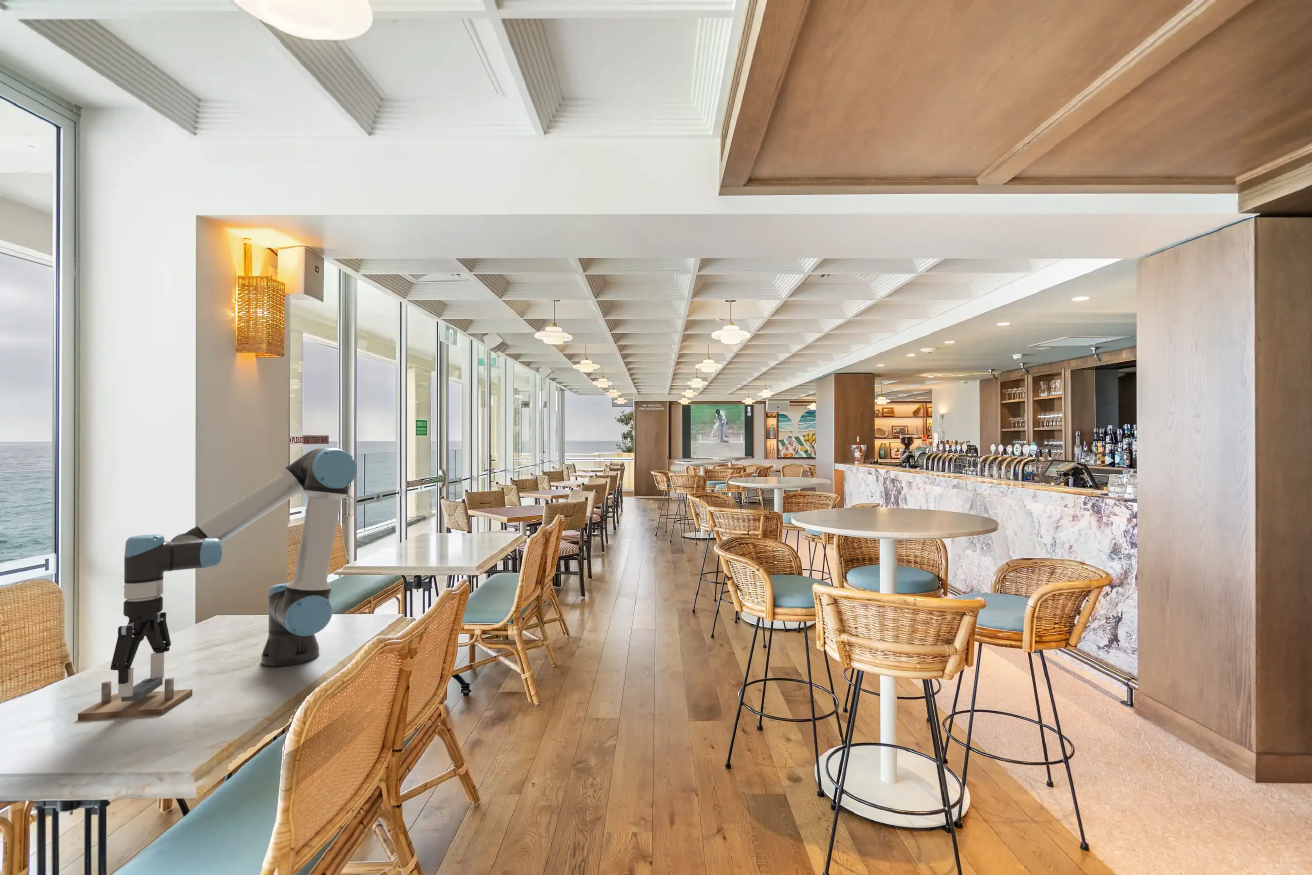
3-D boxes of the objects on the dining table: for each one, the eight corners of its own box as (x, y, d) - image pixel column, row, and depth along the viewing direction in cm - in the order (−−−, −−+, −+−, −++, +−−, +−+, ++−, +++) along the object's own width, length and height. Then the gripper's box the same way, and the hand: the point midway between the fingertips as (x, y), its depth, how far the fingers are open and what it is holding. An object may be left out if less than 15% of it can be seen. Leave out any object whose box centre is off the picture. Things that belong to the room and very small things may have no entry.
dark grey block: (120, 702, 145) (120, 693, 145) (144, 685, 155) (145, 678, 155) (139, 700, 146) (140, 692, 146) (162, 684, 156) (163, 676, 156)
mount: (192, 694, 158) (192, 669, 158) (162, 714, 146) (162, 687, 146) (114, 699, 155) (115, 673, 155) (77, 720, 143) (78, 692, 144)
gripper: (157, 587, 162) (156, 671, 162) (90, 610, 139) (88, 707, 139) (188, 587, 163) (187, 669, 163) (127, 608, 141) (125, 705, 140)
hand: (141, 686), depth 151 cm, fingers closed on dark grey block, 11 cm apart
